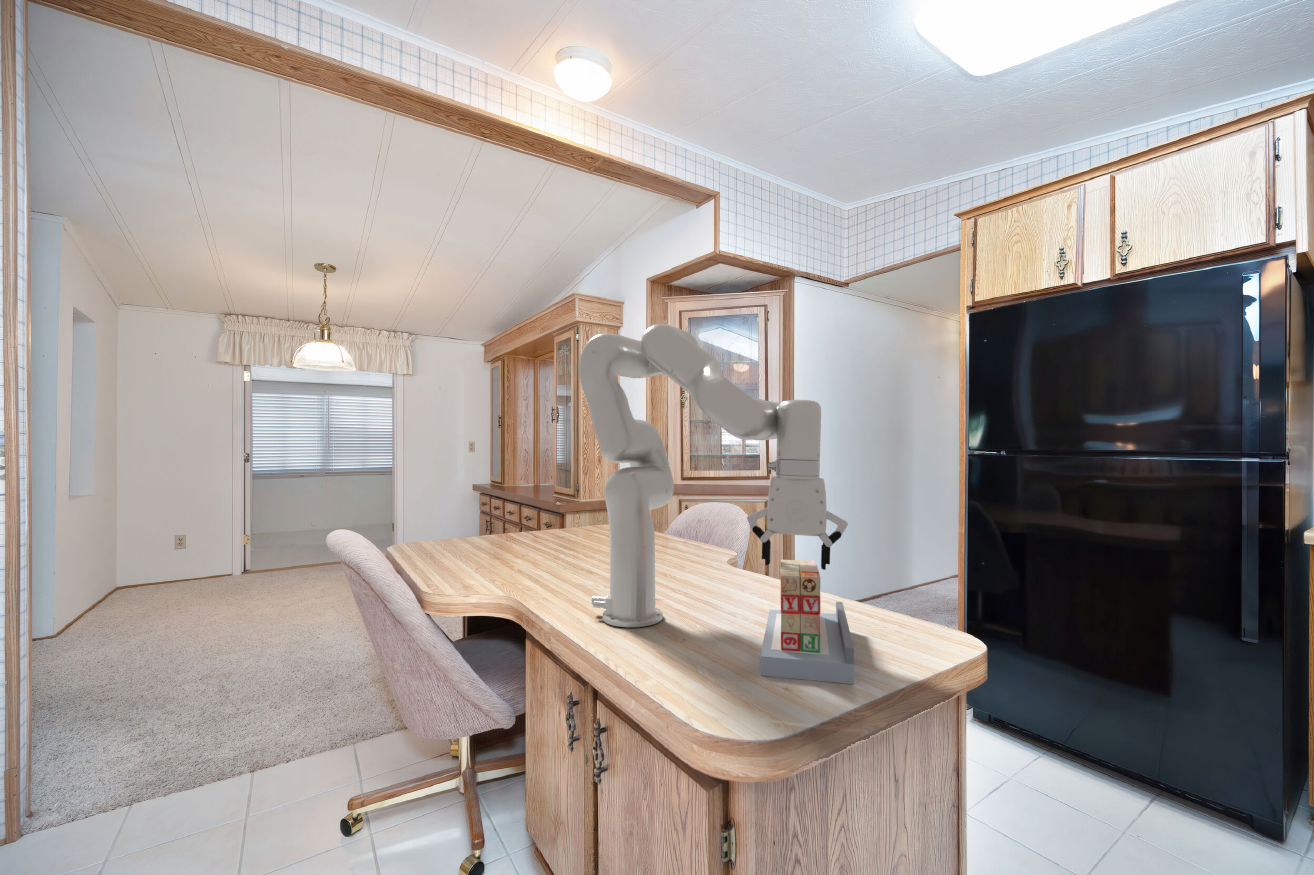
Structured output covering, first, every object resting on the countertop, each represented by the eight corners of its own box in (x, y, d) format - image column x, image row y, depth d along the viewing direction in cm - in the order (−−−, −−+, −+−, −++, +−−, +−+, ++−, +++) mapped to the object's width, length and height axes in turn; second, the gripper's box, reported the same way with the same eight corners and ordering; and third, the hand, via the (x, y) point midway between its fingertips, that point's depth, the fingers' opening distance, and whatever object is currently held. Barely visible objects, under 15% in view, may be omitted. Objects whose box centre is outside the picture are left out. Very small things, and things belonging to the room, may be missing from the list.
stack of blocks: (780, 612, 112) (780, 549, 112) (813, 614, 111) (813, 550, 111) (780, 650, 91) (780, 573, 91) (821, 653, 90) (820, 575, 90)
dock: (760, 675, 89) (760, 640, 89) (769, 624, 114) (769, 597, 114) (854, 684, 86) (854, 648, 86) (842, 629, 111) (842, 601, 111)
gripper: (746, 468, 99) (744, 566, 99) (850, 473, 95) (847, 574, 95) (750, 466, 106) (748, 557, 107) (847, 470, 102) (844, 565, 102)
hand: (795, 565), depth 101 cm, fingers open, 9 cm apart
